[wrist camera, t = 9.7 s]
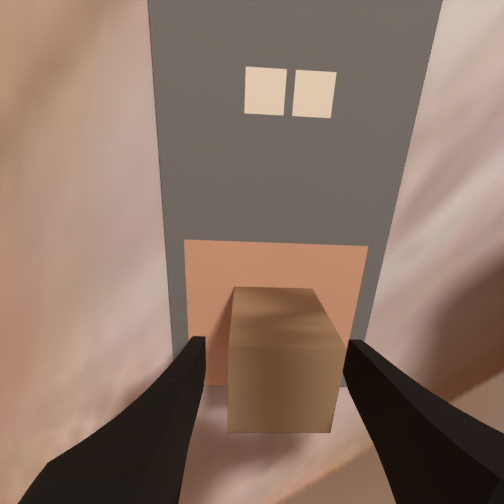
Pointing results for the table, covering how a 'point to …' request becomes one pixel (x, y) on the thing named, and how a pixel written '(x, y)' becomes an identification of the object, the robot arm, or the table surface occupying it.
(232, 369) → the walnut block
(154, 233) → the table surface
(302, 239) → the mat
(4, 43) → the table surface
